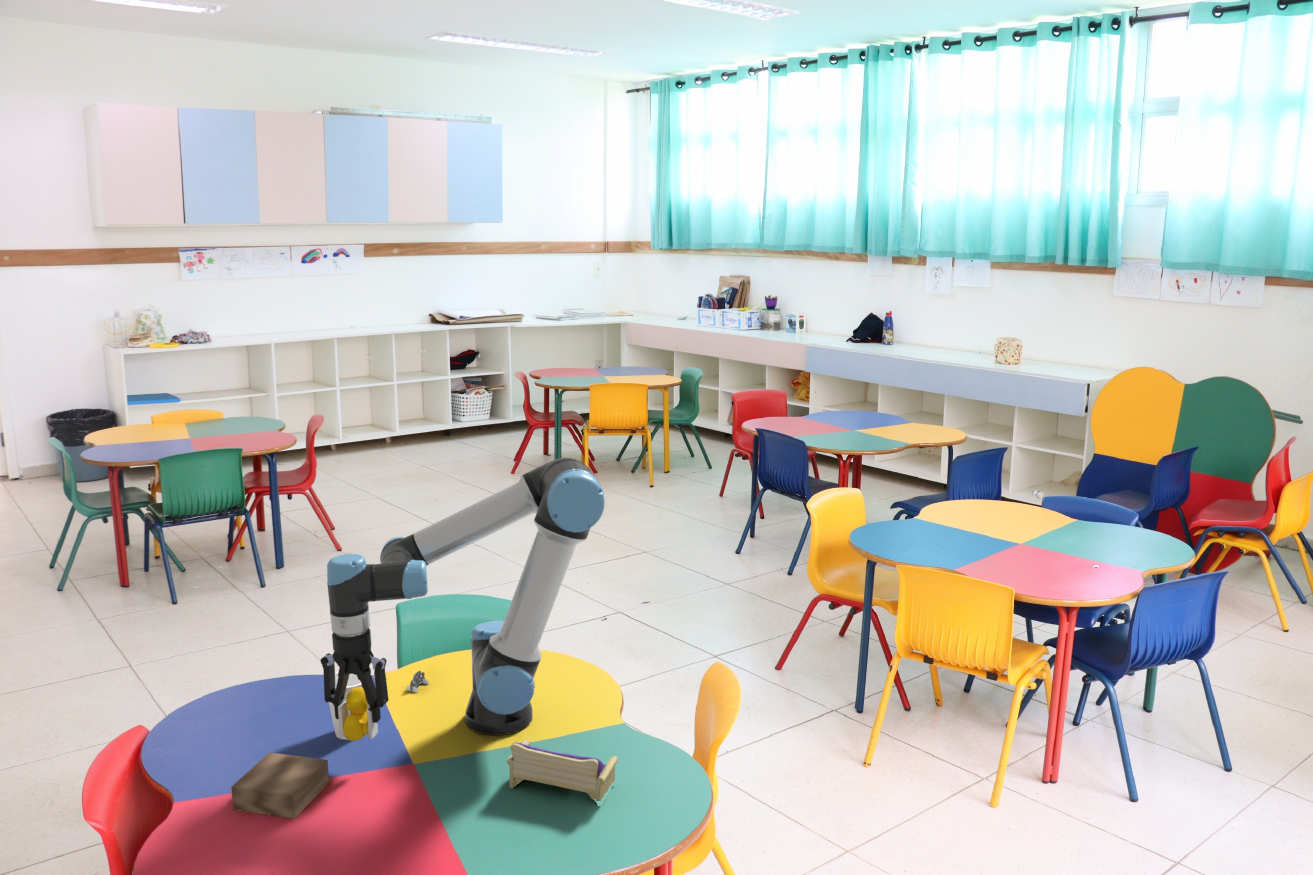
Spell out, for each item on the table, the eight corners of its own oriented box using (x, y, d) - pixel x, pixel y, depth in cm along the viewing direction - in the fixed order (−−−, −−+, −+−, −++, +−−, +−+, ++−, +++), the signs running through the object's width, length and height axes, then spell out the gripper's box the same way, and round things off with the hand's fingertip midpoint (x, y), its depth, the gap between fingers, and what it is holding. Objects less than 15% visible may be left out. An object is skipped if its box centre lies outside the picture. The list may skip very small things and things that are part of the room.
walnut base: (329, 782, 207) (327, 759, 206) (294, 818, 195) (293, 795, 194) (270, 774, 210) (269, 752, 208) (233, 810, 197) (231, 786, 196)
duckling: (354, 721, 218) (351, 678, 216) (379, 721, 218) (376, 678, 216) (338, 748, 207) (334, 703, 205) (364, 748, 207) (360, 703, 205)
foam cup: (378, 723, 231) (376, 670, 228) (363, 744, 222) (360, 689, 219) (338, 721, 232) (335, 667, 229) (321, 741, 223) (317, 686, 220)
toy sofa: (618, 786, 208) (619, 740, 206) (603, 809, 200) (603, 761, 198) (524, 767, 214) (524, 723, 212) (506, 789, 206) (505, 743, 204)
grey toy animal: (422, 697, 244) (421, 680, 243) (398, 692, 247) (397, 675, 246) (454, 672, 258) (454, 655, 257) (432, 667, 260) (431, 651, 259)
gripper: (299, 634, 205) (308, 738, 211) (385, 641, 202) (393, 747, 207) (318, 619, 213) (327, 721, 218) (402, 626, 209) (409, 729, 214)
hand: (359, 733), depth 212 cm, fingers closed on duckling, 6 cm apart
